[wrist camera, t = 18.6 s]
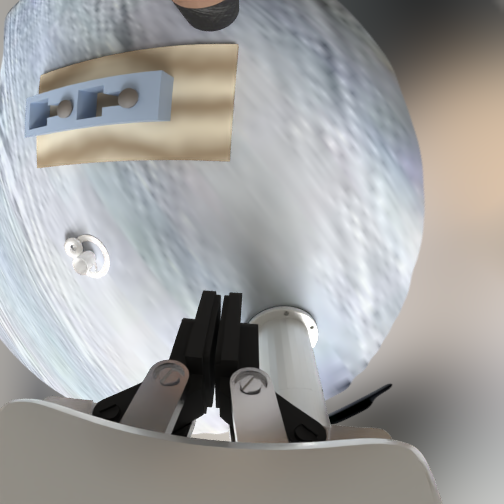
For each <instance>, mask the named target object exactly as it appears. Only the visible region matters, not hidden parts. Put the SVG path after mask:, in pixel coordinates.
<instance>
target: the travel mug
mask: <svg viewBox="0 0 504 504" xmlns="http://www.w3.org/2000/svg"><path fill="white" fill-rule="evenodd" d="M172 1H173V2H174V4H175V5H176V6H177V8H178V9H179V10H180V11H181V13H182V14H183V15H184V17H185V18H186V19H187V21H188V22H189V23H190V24H191V25H192V26H193V27H194V28H196V29H199V30H202V31H216V30H220V29H223V28H225V27H227V26H229V25H230V24H231V23H232V22H233V21H234V20H235V19H236V17H237V15H238V12H239V0H172Z"/></svg>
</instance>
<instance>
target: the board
mask: <svg viewBox="0 0 504 504" xmlns="http://www.w3.org/2000/svg"><path fill="white" fill-rule="evenodd" d="M238 49H239V46H238V44H196V45H179V46H167V47H158V48H150V49H142V50H136V51H130V52H124V53H119V54H114V55H109V56H104V57H100V58H96V59H92V60H88V61H84V62H80V63H77V64H73V65H70V66H67V67H63V68H60V69H57V70H54V71H51V72H48V73H46V74H43V75H41V77H40V86H39V94H41V93H44V92H48V91H51V90H54V89H58V88H61V87H65V86H69V85H73V84H77V83H81V82H86V81H91V80H95V79H100V78H106V77H111V76H118V75H124V74H131V73H139V72H148V71H159V70H162V71H164V72H166V73H167V74H169V75H170V76H172V77H173V78H174V81H173V92H172V104H171V118H170V121H160V122H139V123H125V124H114V125H104V126H96V127H88V128H81V129H74V130H68V131H62V132H56V133H51V134H46V135H39V136H37V168H43V167H51V166H60V165H70V164H81V163H94V162H110V161H134V160H204V161H228V162H229V161H230V150H231V135H232V121H233V107H234V94H235V82H236V71H237V59H238ZM138 98H139V95H138V92H137V91H136V90H135V89H132V88H126V89H124V90H122V91H121V93H120V94H119V96H114V95H108V94H103V92H101V93H97V106H96V117H100V116H102V108H103V107H110V106H118V105H120V106H121V107H123V108H131V107H133V106H135V105H136V103H137V101H138ZM72 110H73V103H72V102H71V101H70V100H63V101H61V102H60V103H59V105H58V106H55V105H50V117H54V116H59V117H60V118H67V117H69V116H70V114H71V113H72Z"/></svg>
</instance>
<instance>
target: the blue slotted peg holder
mask: <svg viewBox="0 0 504 504" xmlns="http://www.w3.org/2000/svg"><path fill="white" fill-rule="evenodd" d="M173 81H174V78H173V77H172V76H170V75H169V74H167V73H166V72H164V71H162V70H159V71H148V72H139V73H131V74H124V75H118V76H111V77H106V78H100V79H95V80H91V81H86V82H81V83H77V84H73V85H69V86H65V87H61V88H58V89H54V90H51V91H48V92H44V93H41V94H38V95H35V96H32V97H29V98H27V100H26V114H25V138H26V137H32V136H39V135H46V134H51V133H56V132H62V131H68V130H74V129H81V128H88V127H96V126H104V125H114V124H125V123H139V122H160V121H170V118H171V104H172V92H173ZM126 88H132V89H135V90H136V91H137V92H138V95H139V98H138V101H137V103H136V105H135V106H133V107H131V108H123V107H121V106H120V105H118V106H110V107H103V108H102V116H100V117H96V106H97V93H101V92H103V94H108V95H114V96H119V94H120V93H121V91H122V90H124V89H126ZM63 100H70V101H71V102H72V103H73V110H72V113H71V114H70V116H69V117H67V118H60V117H59V116H54V117H50V105H55V106H58V105H59V103H60V102H61V101H63Z"/></svg>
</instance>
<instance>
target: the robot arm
mask: <svg viewBox="0 0 504 504" xmlns="http://www.w3.org/2000/svg"><path fill="white" fill-rule="evenodd" d="M241 304H242V293H231V292H230V294H229V296H227V295H225V296H224V301H223V308H222V314H221V295H216V291H205V290H204V291H203V293H202V296H201V300H200V303H199V307H198V310H197V314H196V318H195V319H187V318H183V319H182V322H181V325H180V328H179V331H178V334H177V337H176V340H175V343H174V346H173V349H172V352H171V355H170V358H169V360H163V361H160V362H158V363H156V364H154V365H153V366H152V367H151V369H150V370H149V372H148V374H147V375H146V377H145V379H144V381H143V382H142V383H140V384H137V385H135V386H133V387H131V388H129V389H126V390H124V391H122V392H119V393H117V394H115V395H113V396H110V397H108V398H106V399H103V400H101V401H100V402H98V403H94V402H93V400H82V399H73V398H64V397H56V396H49V397H46V398H44V399H43V400H36V399H16V400H12V401H9V402H7V403H6V404H5V405H3V406H2V407H1V409H0V504H442V501H441V497H440V494H439V491H438V488H437V485H436V482H435V479H434V477H433V474H432V472H431V469H430V467H429V465H428V463H427V461H426V460H425V458H424V456H423V455H422V454H421V452H420V451H419V450H418V449H417V448H415V447H414V446H412V445H410V444H407V443H404V442H401V441H396V440H392V439H391V436H390V435H389V434H388V432H386V431H385V430H383V429H379V428H363V427H349V426H339V425H330V421H329V417H328V413H327V408H326V404H325V399H324V395H323V390H322V386H321V381H320V377H319V373H318V368H317V364H316V360H315V356H314V351H313V347H314V345H315V344H316V341H317V338H318V329H317V325H316V323H315V321H314V319H313V318H312V317H311V316H310V315H309V314H308V313H307V312H305V311H303V310H301V309H299V308H295V307H288V306H281V307H274V308H270V309H267V310H264V311H262V312H261V313H259V314H257V315H256V316H255V317H254V318H252V320H251V321H250V322H249V323H240V320H241ZM220 317H221V320H220ZM214 388H215V394H216V408H220V417H221V418H222V419H223V420H224V421H225V422H226V423H228V424H229V435H230V442H227V441H216V440H206V439H197V438H190V437H191V434H192V432H193V429H194V426H195V422H196V419H197V418H199V417H200V416H202V415H203V414H206V411H207V407H212V404H213V396H214Z"/></svg>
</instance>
